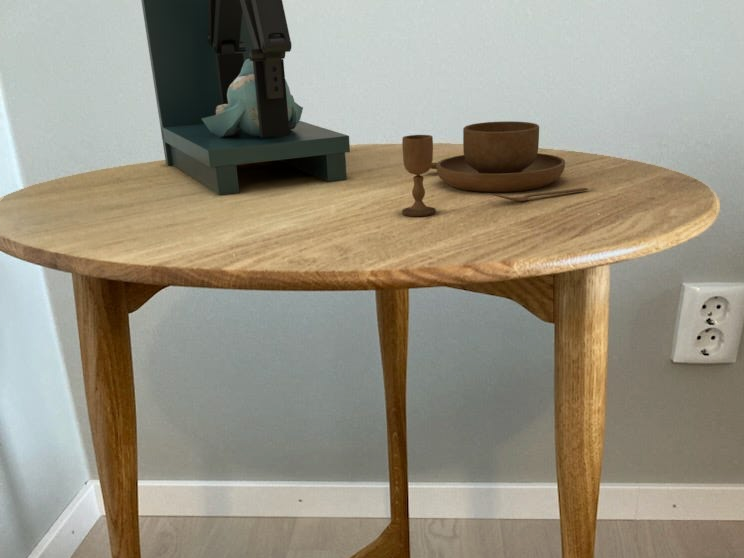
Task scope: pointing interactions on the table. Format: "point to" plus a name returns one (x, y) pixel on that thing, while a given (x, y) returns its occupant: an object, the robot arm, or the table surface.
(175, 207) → the table surface
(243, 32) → the teal chair-shaped stand
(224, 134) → the stuffed animal
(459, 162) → the place setting
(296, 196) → the table surface
